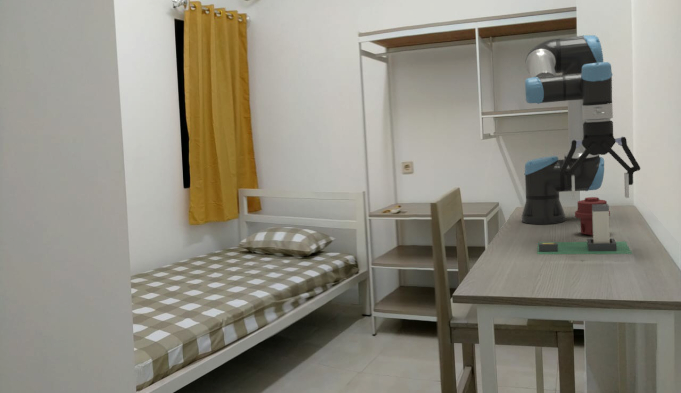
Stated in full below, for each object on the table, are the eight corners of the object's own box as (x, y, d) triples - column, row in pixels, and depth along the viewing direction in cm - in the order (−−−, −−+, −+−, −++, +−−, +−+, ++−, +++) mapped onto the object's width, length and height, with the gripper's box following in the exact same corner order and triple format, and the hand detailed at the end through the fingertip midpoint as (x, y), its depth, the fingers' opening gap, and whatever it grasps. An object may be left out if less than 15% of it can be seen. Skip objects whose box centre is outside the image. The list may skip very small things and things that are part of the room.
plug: (593, 246, 174) (591, 204, 173) (608, 246, 173) (607, 203, 171) (594, 249, 170) (592, 206, 169) (610, 249, 169) (608, 206, 168)
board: (538, 245, 186) (537, 235, 185) (625, 244, 178) (625, 233, 178) (537, 257, 171) (536, 246, 170) (632, 257, 163) (632, 245, 163)
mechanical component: (606, 233, 196) (613, 239, 186) (573, 234, 198) (578, 241, 188) (605, 195, 194) (612, 199, 185) (572, 196, 196) (577, 201, 187)
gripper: (549, 124, 168) (552, 201, 171) (650, 117, 160) (652, 198, 163) (549, 123, 175) (552, 197, 178) (646, 116, 167) (647, 194, 170)
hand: (599, 198), depth 170 cm, fingers open, 13 cm apart
